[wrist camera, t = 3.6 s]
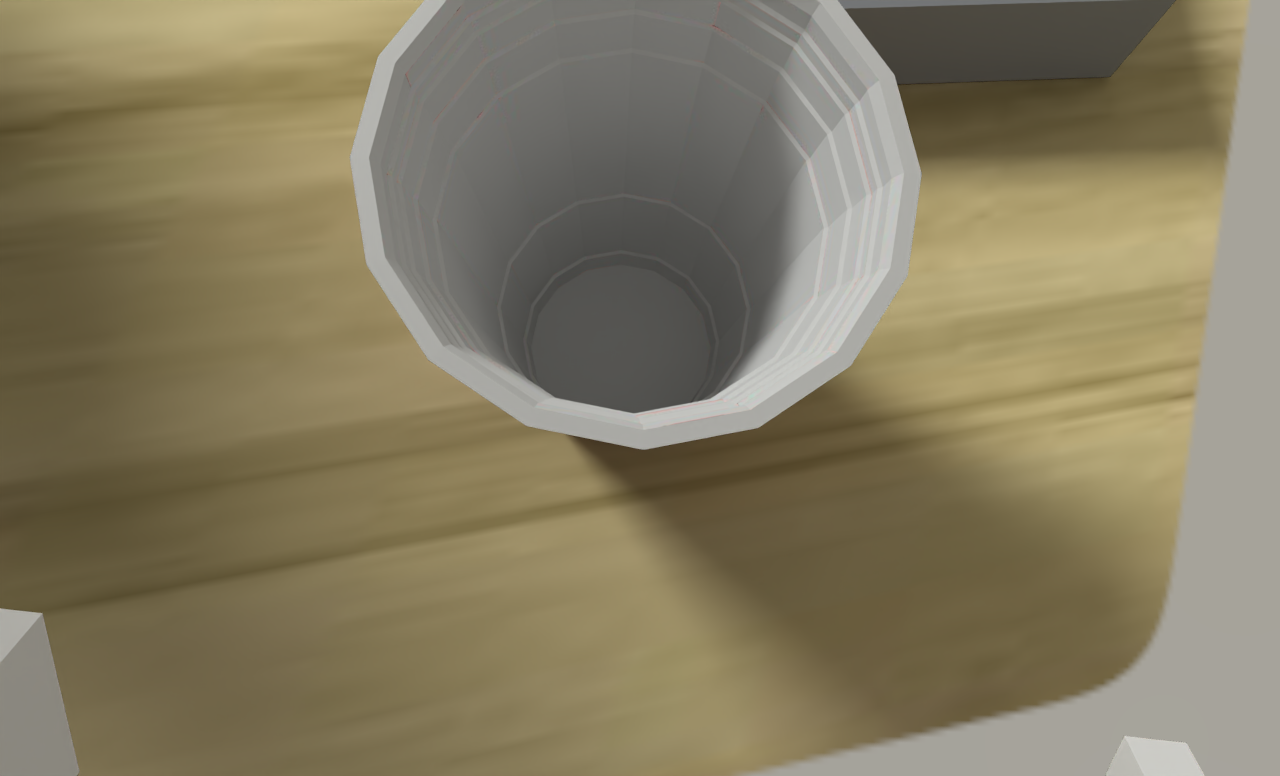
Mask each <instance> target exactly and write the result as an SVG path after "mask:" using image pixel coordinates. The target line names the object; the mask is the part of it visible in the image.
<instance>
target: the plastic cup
mask: <svg viewBox="0 0 1280 776" xmlns="http://www.w3.org/2000/svg"><path fill="white" fill-rule="evenodd" d="M350 162H351V169H352V175H353V182H354V188H355V194H356V201H357V207H358V214H359V220H360V226H361V233H362V239H363V246H364V252H365V258H366V265H367V266H368V268H369V269H370V271H371V272H372V274H373V275H374V277H375V279H376V280H377V282H378V283H379V285H380V286H381V288H382V289H383V291H384V292H385V294H386V296H387V297H388V299H389V300H390V302H391V303H392V305H393V306H394V308H395V309H396V311H397V312H398V314H399V316H400V317H401V319H402V320H403V322H404V323H405V325H406V326H407V328H408V329H409V331H410V332H411V334H412V336H413V337H414V339H415V340H416V342H417V343H418V345H419V346H420V348H421V349H422V351H423V352H424V354H425V356H426V357H427V359H428V360H429V361H431V362H432V363H434V364H435V365H437V366H438V367H439V368H441V369H442V370H444V371H445V372H447V373H448V374H450V375H451V376H453V377H454V378H456V379H457V380H459V381H460V382H462V383H463V384H465V385H466V386H468V387H469V388H471V389H472V390H474V391H475V392H477V393H478V394H480V395H481V396H483V397H484V398H486V399H487V400H489V401H490V402H492V403H493V404H495V405H496V406H498V407H499V408H501V409H502V410H503V411H505V412H506V413H508V414H509V415H511V416H512V417H514V418H515V419H517V420H518V421H520V422H521V423H523V424H524V425H526V426H529V427H534V428H539V429H544V430H549V431H554V432H559V433H563V434H568V435H573V436H578V437H583V438H588V439H593V440H598V441H603V442H608V443H612V444H617V445H622V446H627V447H632V448H637V449H642V450H645V449H651V448H656V447H661V446H666V445H672V444H677V443H682V442H687V441H692V440H698V439H703V438H708V437H713V436H719V435H724V434H729V433H734V432H740V431H745V430H750V429H755V428H759V427H760V426H762V425H763V424H765V423H766V422H768V421H769V420H771V419H772V418H774V417H775V416H777V415H778V414H780V413H781V412H783V411H784V410H786V409H787V408H789V407H790V406H792V405H793V404H795V403H796V402H798V401H799V400H801V399H802V398H804V397H805V396H807V395H808V394H809V393H811V392H812V391H814V390H815V389H817V388H818V387H820V386H821V385H823V384H824V383H826V382H827V381H829V380H830V379H832V378H833V377H835V376H836V375H838V374H839V373H841V372H842V371H844V370H845V369H847V368H848V367H850V366H851V365H852V363H853V362H854V360H855V358H856V357H857V355H858V354H859V352H860V350H861V349H862V347H863V346H864V344H865V342H866V341H867V339H868V338H869V336H870V334H871V333H872V331H873V330H874V328H875V327H876V325H877V323H878V322H879V320H880V319H881V317H882V315H883V314H884V312H885V311H886V309H887V307H888V306H889V304H890V303H891V301H892V299H893V298H894V296H895V295H896V293H897V292H898V290H899V288H900V287H901V285H902V284H903V282H904V280H905V279H906V277H907V275H908V268H909V261H910V254H911V247H912V239H913V232H914V225H915V218H916V211H917V204H918V196H919V189H920V182H921V175H922V173H921V169H920V166H919V162H918V159H917V155H916V151H915V148H914V144H913V140H912V137H911V133H910V130H909V126H908V122H907V119H906V115H905V111H904V108H903V104H902V101H901V97H900V93H899V90H898V86H897V82H896V79H895V75H894V74H893V72H892V71H891V70H890V69H889V67H888V66H887V65H886V63H885V62H884V61H883V59H882V58H881V57H880V55H879V54H878V53H877V51H876V50H875V49H874V48H873V46H872V45H871V44H870V42H869V41H868V40H867V38H866V37H865V36H864V34H863V33H862V32H861V30H860V29H859V28H858V27H857V25H856V24H855V23H854V21H853V20H852V19H851V17H850V16H849V15H848V13H847V12H846V11H845V9H844V8H843V7H842V6H841V4H840V3H839V2H838V0H424V2H423V3H422V4H421V5H420V7H419V8H418V9H417V10H416V11H415V13H414V14H413V15H412V16H411V17H410V19H409V20H408V21H407V22H406V23H405V25H404V26H403V27H402V28H401V29H400V31H399V32H398V33H397V34H396V36H395V37H394V38H393V39H392V40H391V42H390V43H389V44H388V45H387V46H386V48H385V49H384V50H383V51H382V52H381V54H380V55H379V56H378V59H377V62H376V66H375V69H374V73H373V77H372V80H371V84H370V87H369V91H368V94H367V98H366V101H365V105H364V109H363V112H362V116H361V119H360V123H359V126H358V130H357V133H356V137H355V141H354V144H353V148H352V151H351V155H350Z"/></svg>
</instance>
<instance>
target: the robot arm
mask: <svg viewBox="0 0 1280 776" xmlns="http://www.w3.org/2000/svg"><path fill="white" fill-rule="evenodd" d="M78 773H79V767H78V763H77V759H76V755H75V750H74V746H73V742H72V737H71V733H70V729H69V725H68V720H67V716H66V712H65V707H64V703H63V699H62V695H61V690H60V686H59V682H58V678H57V673H56V669H55V665H54V660H53V656H52V652H51V648H50V643H49V639H48V635H47V630H46V626H45V622H44V618H43V613H35V612H26V611H18V610H9V609H0V776H77V775H78ZM1105 776H1205V775H1204V774H1203V772H1202V770H1201V768H1200V766H1199V765H1198V763H1197V761H1196V759H1195V757H1194V755H1193V754H1192V752H1191V750H1190V748H1189V747H1188V745H1187V743H1184V742H1175V741H1166V740H1157V739H1147V738H1139V737H1131V736H1124V737H1123V739H1122V741H1121V743H1120V746H1119V748H1118V750H1117V752H1116V754H1115V756H1114V758H1113V760H1112V762H1111V764H1110V766H1109V768H1108V770H1107V773H1106V775H1105Z"/></svg>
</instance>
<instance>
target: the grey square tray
mask: <svg viewBox="0 0 1280 776" xmlns="http://www.w3.org/2000/svg"><path fill="white" fill-rule="evenodd" d="M1175 1H1176V0H838V2H839V3H840V4H841V6H842V7H843V8H844V9H845V11H846V12H847V13H848V15H849V16H850V17H851V19H852V20H853V21H854V23H855V24H856V25H857V27H858V28H859V29H860V30H861V32H862V33H863V34H864V36H865V37H866V38H867V40H868V41H869V42H870V44H871V45H872V46H873V48H874V49H875V50H876V51H877V53H878V54H879V55H880V57H881V58H882V59H883V61H884V62H885V63H886V65H887V66H888V67H889V69H890V70H891V71H892V72H893V74H894V75H895V79H896V82H897V84H917V83H946V82H975V81H1004V80H1033V79H1062V78H1091V77H1111V75H1112V74H1113V73H1114V72H1115V71H1116V70H1117V68H1118V67H1119V66H1120V65H1121V64H1122V63H1123V61H1124V60H1125V59H1126V58H1127V57H1128V56H1129V54H1130V53H1131V52H1132V51H1133V50H1134V49H1135V47H1136V46H1137V45H1138V44H1139V43H1140V42H1141V40H1142V39H1143V38H1144V37H1145V36H1146V35H1147V33H1148V32H1149V31H1150V30H1151V29H1152V28H1153V26H1154V25H1155V24H1156V23H1157V22H1158V21H1159V19H1160V18H1161V17H1162V16H1163V15H1164V14H1165V12H1166V11H1167V10H1168V9H1169V8H1170V7H1171V5H1172V4H1173V3H1174V2H1175Z"/></svg>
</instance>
